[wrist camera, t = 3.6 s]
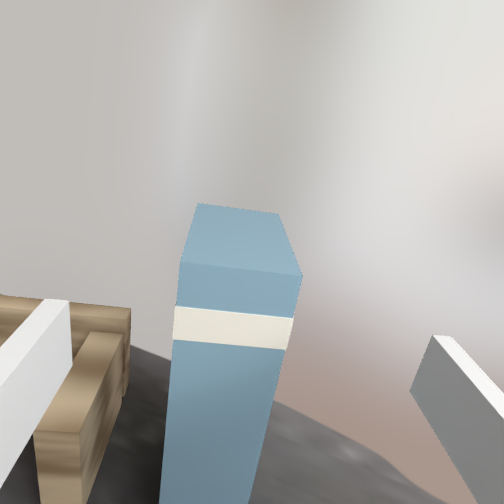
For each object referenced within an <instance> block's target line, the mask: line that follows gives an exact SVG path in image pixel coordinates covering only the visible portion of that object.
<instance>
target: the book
mask: <svg viewBox="0 0 504 504" xmlns="http://www.w3.org/2000/svg"><path fill="white" fill-rule="evenodd" d="M302 277H303V275H302V273H301V270H300V268H299V265H298V263H297V260H296V257H295V255H294V252H293V250H292V247H291V245H290V242H289V240H288V237H287V235H286V232H285V229H284V227H283V224H282V222H281V219H280V217H279V214H275V213H266V212H260V211H252V210H245V209H238V208H230V207H222V206H215V205H208V204H200V203H198V204H197V207H196V211H195V214H194V218H193V221H192V224H191V228H190V231H189V234H188V237H187V241H186V244H185V247H184V251H183V254H182V257H181V261H180V269H179V280H178V292H177V301H176V305H175V314H174V326H173V337H172V339H173V349H172V361H171V372H170V384H169V395H168V407H167V418H166V430H165V441H164V453H163V464H162V476H161V487H160V498H159V504H248V503H249V499H250V495H251V491H252V487H253V482H254V478H255V474H256V470H257V466H258V461H259V457H260V453H261V449H262V445H263V441H264V436H265V432H266V428H267V424H268V420H269V415H270V411H271V407H272V403H273V398H274V394H275V390H276V386H277V382H278V378H279V374H280V369H281V365H282V361H283V356H284V353H285V350H286V349H287V345H288V341H289V337H290V333H291V328H292V324H293V319H294V318H293V315H294V310H295V307H296V302H297V298H298V294H299V290H300V286H301V281H302Z"/></svg>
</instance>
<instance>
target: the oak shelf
mask: <svg viewBox="0 0 504 504" xmlns="http://www.w3.org/2000/svg"><path fill="white" fill-rule="evenodd" d="M43 300H44V299H34V298H24V297H14V296H5V295H0V347H1V346H2V345H3V344H4V343H5V342H6V340H7V339H8V338H9V337H10V336H11V335H12V334H13V333H14V332H15V331H16V330H17V329H18V327H19V326H20V325H21V324H22V323H23V322H24V321H25V320H26V319H27V318H28V317H29V315H30V314H31V313H32V312H33V311H34V310H35V309H36V308H37V307H38V306H39V305H40V304H41V302H42V301H43ZM69 309H70V327H71V345H72V362H73V366H72V367H71V369H70V371H69V372H68V374H67V376H66V378H65V379H64V381H63V383H62V384H61V386H60V388H59V389H58V391H57V393H56V395H55V396H54V398H53V400H52V401H51V403H50V405H49V406H48V408H47V410H46V412H45V413H44V415H43V417H42V418H41V420H40V422H39V423H38V425H37V427H36V429H35V430H34V432H33V439H34V448H35V457H36V466H37V474H38V483H39V492H40V501H41V504H87V501H88V498H89V495H90V492H91V489H92V487H93V484H94V481H95V478H96V475H97V472H98V470H99V467H100V464H101V461H102V458H103V455H104V452H105V450H106V447H107V444H108V441H109V438H110V435H111V433H112V430H113V427H114V424H115V421H116V418H117V416H118V413H119V410H120V407H121V404H122V397H124V396H125V393H126V390H127V387H128V384H129V364H130V330H131V308H122V307H113V306H103V305H92V304H83V303H73V302H69Z"/></svg>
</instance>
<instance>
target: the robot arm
mask: <svg viewBox="0 0 504 504" xmlns="http://www.w3.org/2000/svg"><path fill="white" fill-rule="evenodd" d="M72 366H73V362H72V345H71V327H70V309H69V301H67V300H57V299H46V298H45V299H44V300H43V301H42V302H41V304H40V305H39V306H38V307H37V308H36V309H35V310H34V311H33V312H32V313H31V314H30V315H29V317H28V318H27V319H26V320H25V321H24V322H23V323H22V324H21V325H20V326H19V327H18V329H17V330H16V331H15V332H14V333H13V334H12V335H11V336H10V337H9V338H8V339H7V340H6V342H5V343H4V344H3V345H2V346H1V347H0V488H1V486H2V485H3V483H4V481H5V480H6V478H7V476H8V474H9V473H10V471H11V469H12V468H13V466H14V464H15V463H16V461H17V459H18V457H19V456H20V454H21V452H22V451H23V449H24V447H25V446H26V444H27V442H28V440H29V439H30V437H31V435H32V434H33V432H34V430H35V429H36V427H37V425H38V423H39V422H40V420H41V418H42V417H43V415H44V413H45V412H46V410H47V408H48V406H49V405H50V403H51V401H52V400H53V398H54V396H55V395H56V393H57V391H58V389H59V388H60V386H61V384H62V383H63V381H64V379H65V378H66V376H67V374H68V372H69V371H70V369H71V367H72ZM410 392H411V394H412V396H413V397H414V399H415V401H416V402H417V404H418V406H419V407H420V409H421V411H422V412H423V414H424V416H425V417H426V419H427V421H428V422H429V424H430V425H431V427H432V429H433V430H434V432H435V434H436V435H437V437H438V439H439V440H440V442H441V443H442V445H443V447H444V448H445V450H446V452H447V453H448V455H449V456H450V458H451V460H452V462H453V463H454V465H455V467H456V468H457V470H458V471H459V473H460V475H461V476H462V478H463V480H464V481H465V483H466V484H467V486H468V488H469V490H470V491H471V493H472V494H473V496H474V498H475V499H476V501H477V502H478V504H504V393H503V392H502V391H501V390H500V389H499V388H498V387H497V386H496V385H495V384H494V383H493V381H492V380H491V379H490V378H489V377H488V376H487V375H486V374H485V373H484V372H483V371H482V370H481V369H480V367H479V366H478V365H477V364H476V363H475V362H474V361H473V360H472V359H471V358H470V357H469V355H468V354H467V353H466V352H465V351H464V350H463V349H462V348H461V347H460V346H459V345H458V343H457V342H456V341H455V340H454V339H453V338H452V337H450V336H439V335H432V337H431V340H430V342H429V344H428V347H427V349H426V352H425V354H424V357H423V359H422V362H421V364H420V366H419V369H418V371H417V374H416V376H415V379H414V381H413V384H412V386H411V388H410Z"/></svg>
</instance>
